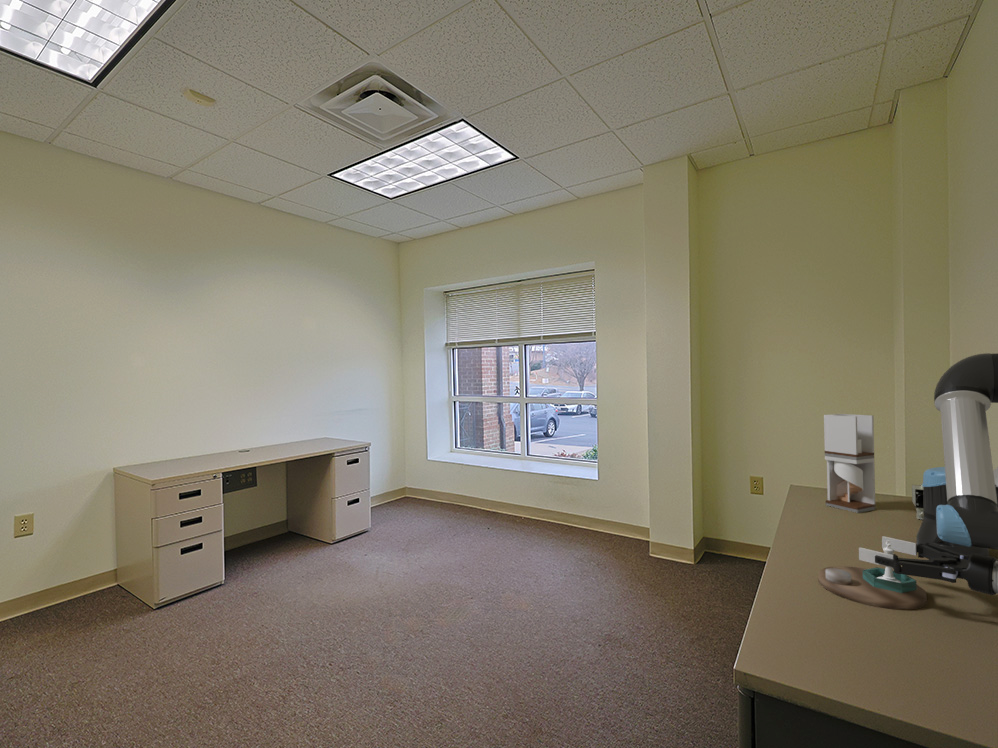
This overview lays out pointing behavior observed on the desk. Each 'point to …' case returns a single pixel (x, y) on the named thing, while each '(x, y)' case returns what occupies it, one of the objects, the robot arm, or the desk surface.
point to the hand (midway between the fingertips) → (871, 547)
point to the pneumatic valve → (918, 500)
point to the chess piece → (888, 571)
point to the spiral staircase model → (850, 461)
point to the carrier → (873, 587)
